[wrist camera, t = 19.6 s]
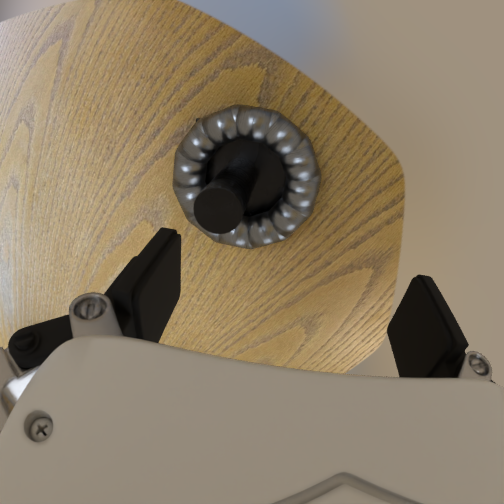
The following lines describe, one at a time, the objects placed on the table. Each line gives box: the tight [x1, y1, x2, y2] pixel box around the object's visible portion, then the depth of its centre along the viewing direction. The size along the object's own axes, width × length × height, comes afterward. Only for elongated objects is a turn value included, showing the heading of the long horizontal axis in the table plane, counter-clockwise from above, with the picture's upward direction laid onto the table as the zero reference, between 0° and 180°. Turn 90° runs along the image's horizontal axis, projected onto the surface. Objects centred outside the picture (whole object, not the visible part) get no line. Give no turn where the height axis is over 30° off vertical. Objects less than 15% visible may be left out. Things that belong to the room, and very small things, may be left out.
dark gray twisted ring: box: [173, 104, 321, 249], centre depth 24 cm, size 12×12×3 cm
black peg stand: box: [193, 118, 286, 234], centre depth 22 cm, size 9×9×10 cm
